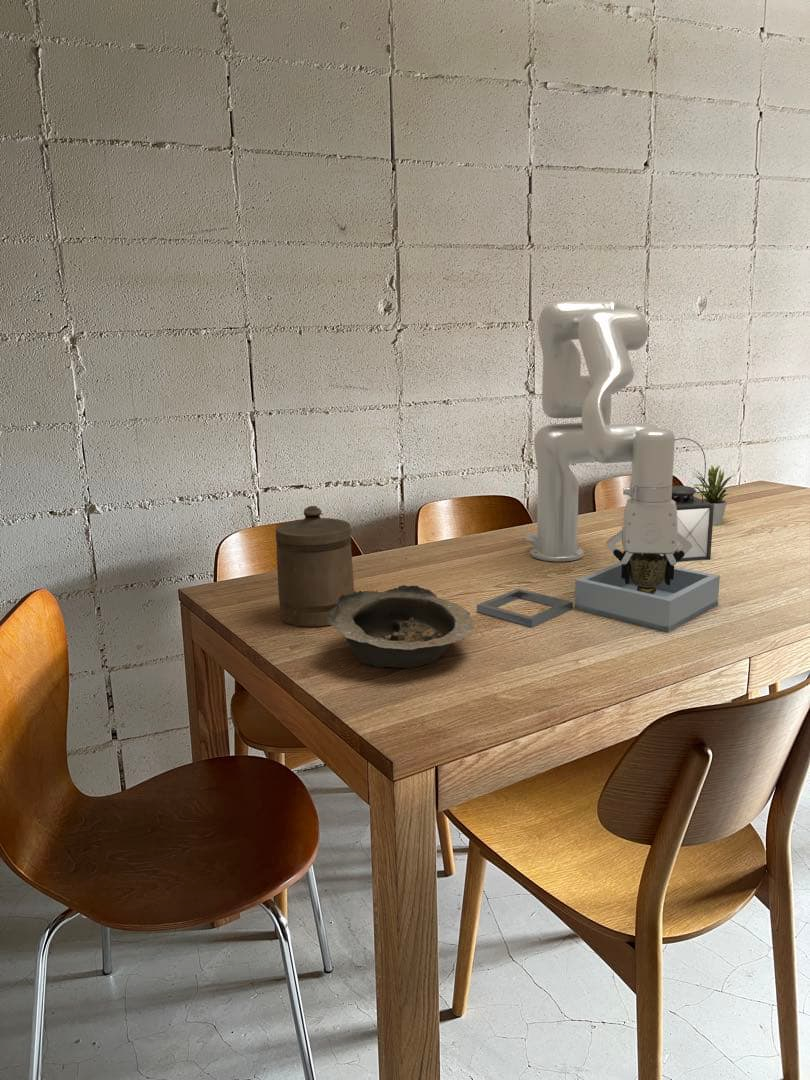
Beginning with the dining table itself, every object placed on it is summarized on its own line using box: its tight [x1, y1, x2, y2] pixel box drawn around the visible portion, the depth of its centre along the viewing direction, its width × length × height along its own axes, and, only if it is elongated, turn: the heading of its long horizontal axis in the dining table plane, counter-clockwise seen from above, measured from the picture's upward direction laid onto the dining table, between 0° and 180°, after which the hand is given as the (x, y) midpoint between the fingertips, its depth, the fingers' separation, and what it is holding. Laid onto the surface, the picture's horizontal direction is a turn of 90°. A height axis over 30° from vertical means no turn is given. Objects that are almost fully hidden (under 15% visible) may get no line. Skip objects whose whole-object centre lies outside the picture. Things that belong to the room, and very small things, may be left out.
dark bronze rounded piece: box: [629, 553, 668, 594], centre depth 165 cm, size 8×7×8 cm
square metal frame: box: [476, 588, 574, 628], centre depth 166 cm, size 13×13×2 cm
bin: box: [574, 561, 721, 633], centre depth 166 cm, size 20×20×6 cm
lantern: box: [659, 437, 714, 563], centre depth 198 cm, size 11×11×28 cm
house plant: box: [689, 464, 737, 527], centre depth 230 cm, size 14×14×16 cm
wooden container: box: [275, 505, 355, 628], centre depth 165 cm, size 15×15×22 cm
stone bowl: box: [327, 585, 475, 670], centre depth 146 cm, size 25×25×9 cm
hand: (646, 581), depth 166 cm, fingers open, 7 cm apart
